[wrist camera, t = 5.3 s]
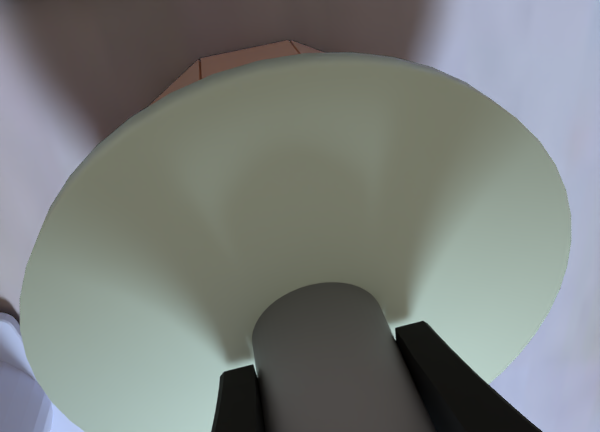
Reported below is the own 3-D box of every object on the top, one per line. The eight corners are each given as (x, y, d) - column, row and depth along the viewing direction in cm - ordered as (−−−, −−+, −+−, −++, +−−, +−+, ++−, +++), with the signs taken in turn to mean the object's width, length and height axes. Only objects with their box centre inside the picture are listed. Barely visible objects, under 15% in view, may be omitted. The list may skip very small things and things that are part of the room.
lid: (148, 487, 15) (136, 704, 11) (-115, 145, 8) (-414, 426, 4) (518, 384, 16) (628, 553, 12) (598, -17, 8) (951, 82, 5)
